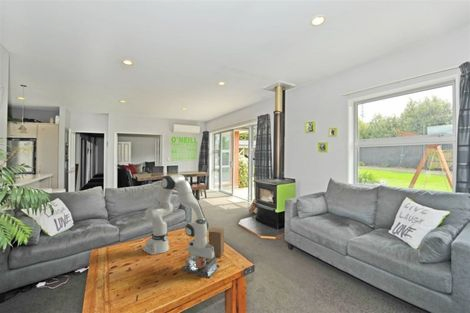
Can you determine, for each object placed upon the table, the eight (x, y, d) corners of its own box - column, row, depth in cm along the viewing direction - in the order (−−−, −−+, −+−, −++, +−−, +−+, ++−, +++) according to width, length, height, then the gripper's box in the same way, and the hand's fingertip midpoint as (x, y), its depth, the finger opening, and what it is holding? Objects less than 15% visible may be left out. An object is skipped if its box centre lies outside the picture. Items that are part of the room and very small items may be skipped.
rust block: (195, 267, 143) (195, 258, 143) (201, 262, 150) (201, 254, 149) (200, 268, 142) (200, 260, 141) (206, 263, 148) (206, 255, 148)
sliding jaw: (186, 268, 144) (186, 259, 144) (195, 260, 154) (195, 252, 154) (188, 268, 143) (188, 260, 143) (197, 260, 153) (197, 253, 153)
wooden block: (220, 257, 161) (220, 232, 160) (208, 256, 163) (208, 231, 162) (224, 251, 171) (223, 227, 170) (212, 250, 173) (212, 227, 172)
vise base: (182, 270, 144) (182, 260, 143) (194, 260, 156) (193, 251, 156) (209, 278, 135) (209, 266, 135) (219, 267, 148) (219, 256, 148)
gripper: (215, 243, 144) (216, 263, 144) (191, 238, 152) (191, 257, 153) (211, 247, 138) (211, 267, 139) (186, 242, 146) (186, 261, 147)
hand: (201, 262), depth 146 cm, fingers closed on rust block, 4 cm apart
